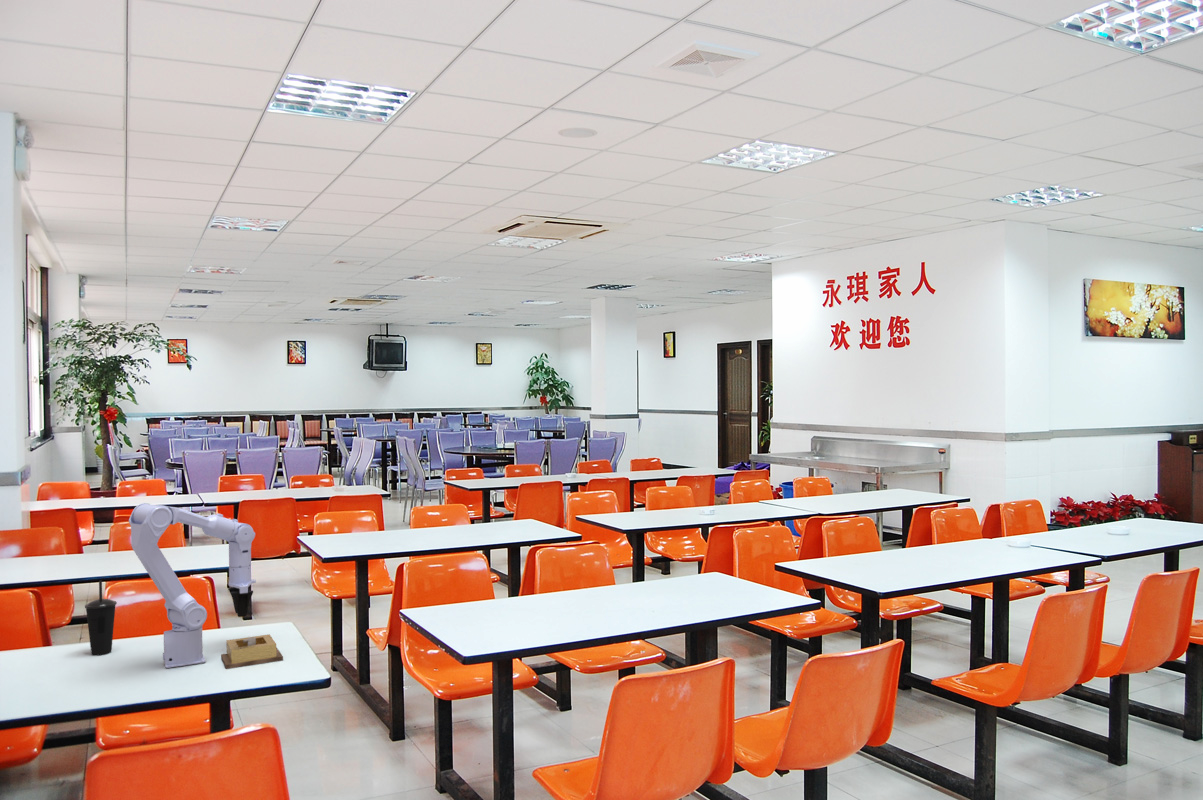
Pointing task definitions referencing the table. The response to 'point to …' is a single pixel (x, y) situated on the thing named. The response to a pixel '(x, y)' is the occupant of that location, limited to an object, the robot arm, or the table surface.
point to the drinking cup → (100, 624)
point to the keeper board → (250, 642)
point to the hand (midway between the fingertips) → (240, 614)
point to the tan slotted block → (251, 649)
